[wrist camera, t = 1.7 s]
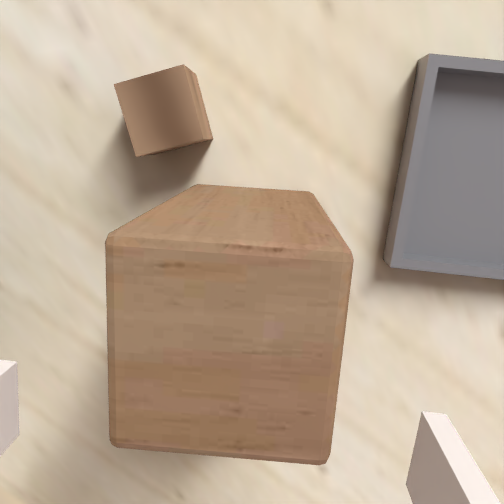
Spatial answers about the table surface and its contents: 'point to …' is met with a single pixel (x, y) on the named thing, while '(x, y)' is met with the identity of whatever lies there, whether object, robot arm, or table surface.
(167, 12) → the table surface
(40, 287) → the table surface
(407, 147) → the tray
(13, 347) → the table surface
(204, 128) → the walnut cube
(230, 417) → the wooden block
